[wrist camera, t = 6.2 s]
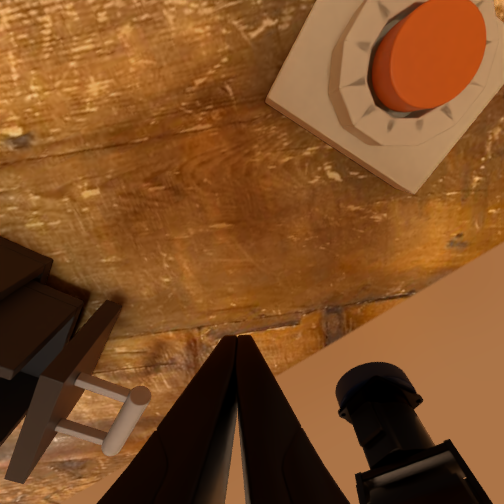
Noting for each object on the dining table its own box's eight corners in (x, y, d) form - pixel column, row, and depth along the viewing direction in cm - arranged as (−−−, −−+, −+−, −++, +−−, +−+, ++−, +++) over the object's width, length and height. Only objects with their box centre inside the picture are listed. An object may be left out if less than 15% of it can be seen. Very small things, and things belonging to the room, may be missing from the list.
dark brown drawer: (180, 330, 21) (150, 413, 14) (135, 409, 24) (95, 503, 18) (-63, 227, 17) (-240, 277, 11) (-75, 336, 21) (-213, 422, 15)
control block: (494, 60, 15) (576, 34, 11) (395, 188, 17) (434, 202, 14) (350, -65, 13) (391, -149, 9) (264, 102, 15) (268, 91, 12)
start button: (472, 47, 11) (509, 33, 10) (413, 127, 13) (437, 126, 11) (409, -6, 11) (438, -32, 9) (354, 84, 12) (370, 76, 10)
